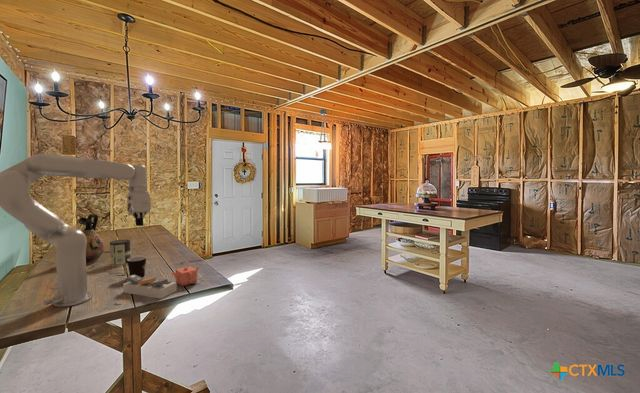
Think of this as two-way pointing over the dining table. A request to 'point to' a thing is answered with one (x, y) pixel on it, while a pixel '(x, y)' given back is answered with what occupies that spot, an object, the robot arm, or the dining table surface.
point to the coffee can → (120, 252)
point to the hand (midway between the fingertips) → (139, 225)
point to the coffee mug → (137, 266)
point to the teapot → (186, 275)
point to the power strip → (150, 289)
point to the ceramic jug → (92, 239)
